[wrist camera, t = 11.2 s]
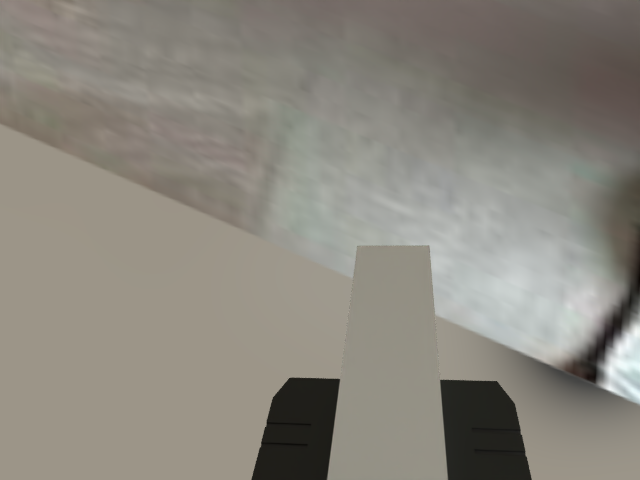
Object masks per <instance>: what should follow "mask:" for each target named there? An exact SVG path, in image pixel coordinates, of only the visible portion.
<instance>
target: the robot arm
mask: <svg viewBox="0 0 640 480" xmlns="http://www.w3.org/2000/svg"><path fill="white" fill-rule="evenodd" d="M252 480H532V479H531V475H530V470H529V465H528V461H527V457H526V456H525V448H524V443H523V439H522V435H521V433H520V425H519V421H518V417H517V412H516V407H515V404H514V402H513V401H512V400H511V398H510V397H509V396H508V395H507V393H506V392H505V391H504V390H503V388H502V387H501V386H500V385H499V383H498V382H497V381H464V380H440V374H439V362H438V349H437V337H436V324H435V311H434V298H433V286H432V273H431V261H430V248H429V246H357V254H356V262H355V269H354V277H353V285H352V293H351V300H350V308H349V315H348V323H347V331H346V339H345V346H344V354H343V361H342V369H341V377H340V379H322V378H321V379H319V378H289V379H288V381H287V382H286V383H285V384H284V385H283V386H282V388H281V389H280V390H279V391H278V392H277V394H276V395H275V396H274V397H273V400H272V403H271V407H270V411H269V415H268V419H267V426H266V427H265V430H264V434H263V438H262V442H261V447H260V449H259V453H258V457H257V461H256V464H255V469H254V472H253V476H252Z"/></svg>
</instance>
